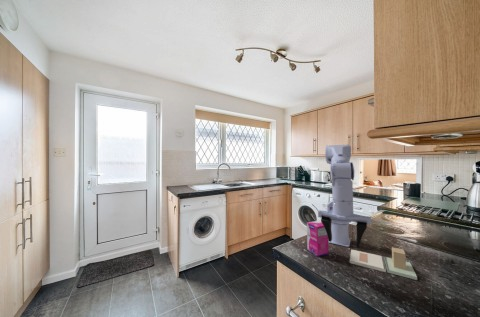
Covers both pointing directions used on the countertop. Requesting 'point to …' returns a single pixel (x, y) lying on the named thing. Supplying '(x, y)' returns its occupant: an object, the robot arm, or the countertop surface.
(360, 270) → the countertop surface
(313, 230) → the supplement box
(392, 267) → the block on white base
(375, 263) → the board
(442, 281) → the countertop surface
